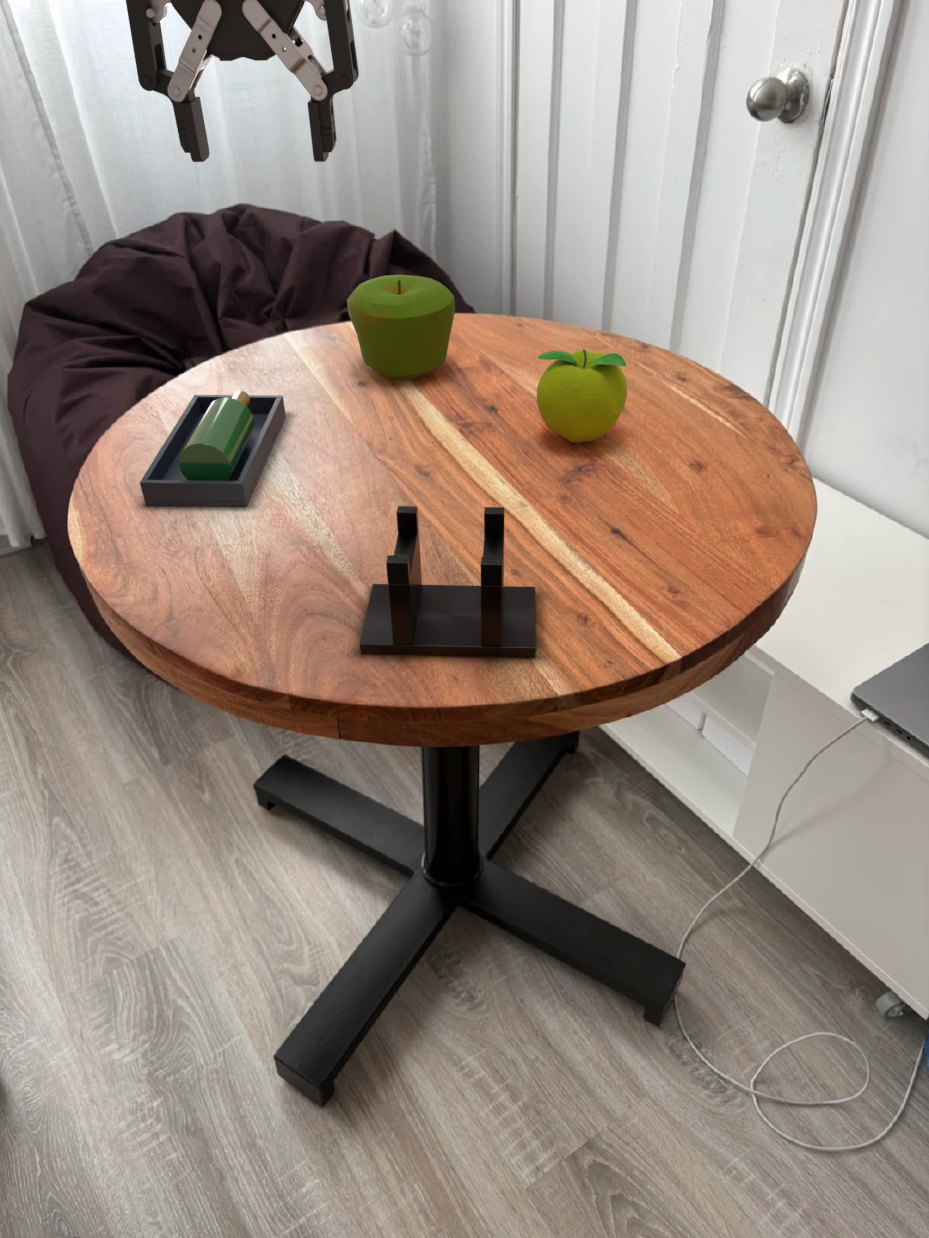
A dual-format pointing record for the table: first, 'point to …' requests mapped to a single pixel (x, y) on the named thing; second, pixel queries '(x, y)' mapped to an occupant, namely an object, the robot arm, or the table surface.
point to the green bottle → (218, 440)
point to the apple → (402, 324)
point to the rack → (449, 603)
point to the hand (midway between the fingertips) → (261, 159)
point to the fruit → (581, 393)
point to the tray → (174, 489)
